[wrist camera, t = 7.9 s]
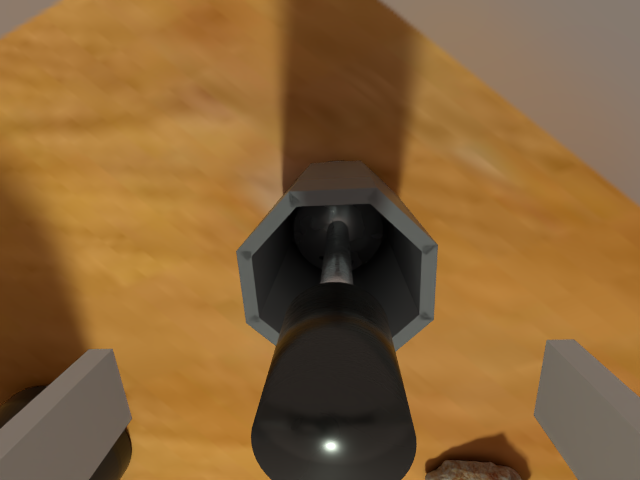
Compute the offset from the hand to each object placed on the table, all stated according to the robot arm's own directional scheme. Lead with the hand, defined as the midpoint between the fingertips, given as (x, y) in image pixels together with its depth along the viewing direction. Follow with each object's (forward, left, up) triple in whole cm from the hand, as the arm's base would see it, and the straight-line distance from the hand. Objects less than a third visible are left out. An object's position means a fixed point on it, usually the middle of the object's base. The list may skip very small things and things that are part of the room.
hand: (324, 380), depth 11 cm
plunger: (0, 0, -16) cm, 16 cm away
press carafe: (0, 0, -20) cm, 20 cm away
